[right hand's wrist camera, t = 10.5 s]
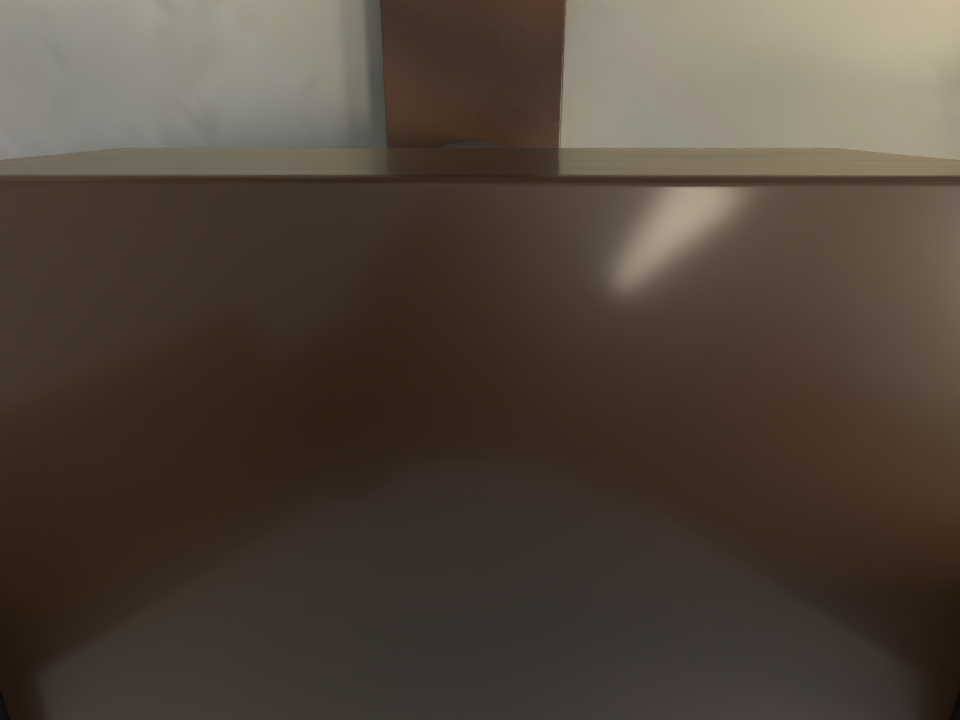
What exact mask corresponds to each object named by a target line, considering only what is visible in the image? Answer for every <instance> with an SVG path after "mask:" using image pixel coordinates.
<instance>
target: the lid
mask: <svg viewBox="0 0 960 720" xmlns="http://www.w3.org/2000/svg"><path fill="white" fill-rule="evenodd" d="M0 696H1V700H2V703H3V706H4V709H5V712H6V716H7V719H8V720H952V718H953V715H954V712H955V709H956V706H957V702H958V699H959V696H960V160H950V159H939V158H929V157H919V156H909V155H898V154H888V153H878V152H868V151H857V150H847V149H837V148H121V149H111V150H100V151H90V152H80V153H69V154H59V155H49V156H38V157H28V158H18V159H7V160H0Z"/></svg>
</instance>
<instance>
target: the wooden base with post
mask: <svg viewBox="0 0 960 720" xmlns="http://www.w3.org/2000/svg"><path fill="white" fill-rule="evenodd" d="M380 4H381V26H382V48H383V70H384V92H385V114H386V136H387V148H560V139H561V114H562V89H563V64H564V39H565V14H566V0H380Z"/></svg>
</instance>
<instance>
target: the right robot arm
mask: <svg viewBox="0 0 960 720" xmlns="http://www.w3.org/2000/svg"><path fill="white" fill-rule="evenodd" d="M0 720H8V719H7V716H6V712H5V709H4V706H3V703H2V700H1V696H0ZM952 720H960V696H959V699H958V702H957V706H956V709H955V712H954V715H953V718H952Z"/></svg>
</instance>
